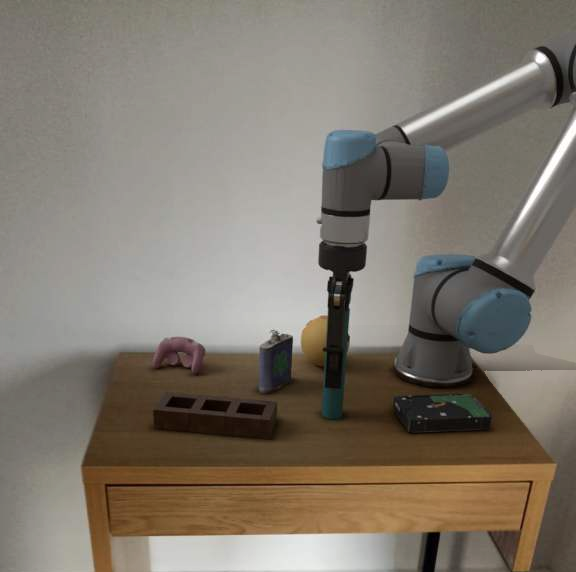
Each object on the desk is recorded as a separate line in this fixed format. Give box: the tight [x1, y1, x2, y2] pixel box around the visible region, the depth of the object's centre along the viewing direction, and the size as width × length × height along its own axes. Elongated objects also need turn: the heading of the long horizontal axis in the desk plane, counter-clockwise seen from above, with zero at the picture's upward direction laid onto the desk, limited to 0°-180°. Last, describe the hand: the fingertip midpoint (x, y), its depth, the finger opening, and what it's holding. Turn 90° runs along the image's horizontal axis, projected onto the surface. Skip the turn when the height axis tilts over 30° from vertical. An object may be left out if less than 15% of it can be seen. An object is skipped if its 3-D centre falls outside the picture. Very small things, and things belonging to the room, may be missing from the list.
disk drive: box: [392, 393, 493, 433], centre depth 131 cm, size 10×3×15 cm
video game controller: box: [152, 336, 206, 375], centre depth 148 cm, size 10×5×7 cm, turn 72°
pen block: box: [152, 391, 278, 440], centre depth 127 cm, size 20×8×4 cm, turn 82°
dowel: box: [321, 307, 351, 420], centre depth 127 cm, size 4×4×19 cm
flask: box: [258, 329, 294, 395], centre depth 140 cm, size 9×3×11 cm, turn 146°
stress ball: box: [300, 315, 351, 368], centre depth 150 cm, size 10×10×10 cm
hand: (334, 382), depth 129 cm, fingers closed on dowel, 4 cm apart
